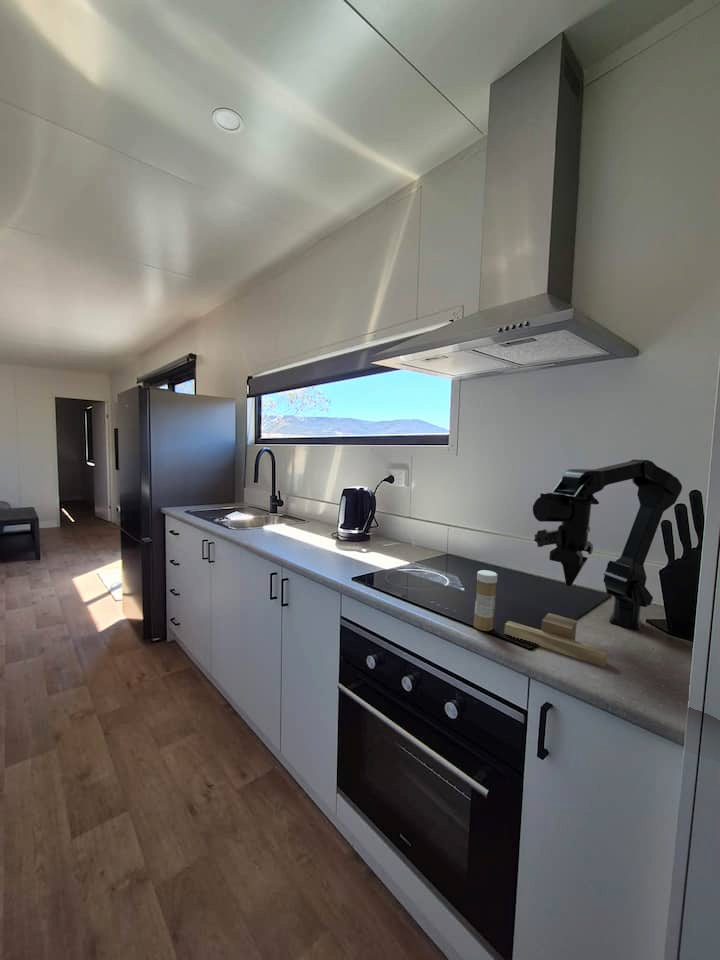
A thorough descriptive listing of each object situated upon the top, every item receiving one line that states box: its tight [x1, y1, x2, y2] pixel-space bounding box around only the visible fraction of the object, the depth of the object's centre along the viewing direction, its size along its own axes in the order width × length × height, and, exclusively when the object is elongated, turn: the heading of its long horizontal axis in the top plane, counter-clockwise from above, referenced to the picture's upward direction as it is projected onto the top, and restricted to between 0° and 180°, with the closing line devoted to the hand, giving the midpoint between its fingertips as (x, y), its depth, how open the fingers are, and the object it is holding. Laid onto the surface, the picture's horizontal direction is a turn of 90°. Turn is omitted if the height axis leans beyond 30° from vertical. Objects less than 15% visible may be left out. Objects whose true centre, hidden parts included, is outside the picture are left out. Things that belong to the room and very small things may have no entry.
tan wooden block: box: [540, 612, 578, 641], centre depth 90 cm, size 6×6×5 cm
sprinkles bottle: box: [473, 569, 498, 632], centre depth 95 cm, size 5×5×13 cm
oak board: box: [503, 620, 608, 668], centre depth 87 cm, size 2×20×2 cm, turn 52°
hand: (568, 585), depth 97 cm, fingers closed
